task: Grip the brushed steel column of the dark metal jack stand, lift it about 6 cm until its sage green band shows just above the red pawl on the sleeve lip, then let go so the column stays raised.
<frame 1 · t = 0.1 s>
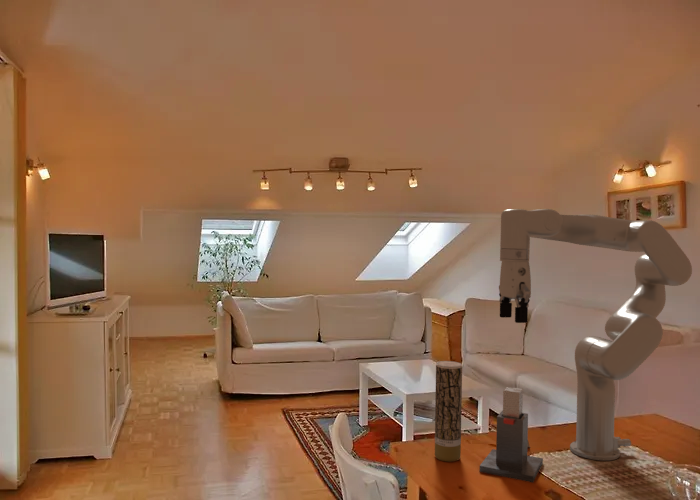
hand: (513, 319, 155), 37 cm above the table, tool pointing down, fingers open, 9 cm apart
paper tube: (447, 458, 154), on the table
column: (512, 424, 148), point 11 cm above the table, slide at 0.0 cm
stand: (511, 467, 148), on the table
decorative ornament: (518, 444, 166), on the table
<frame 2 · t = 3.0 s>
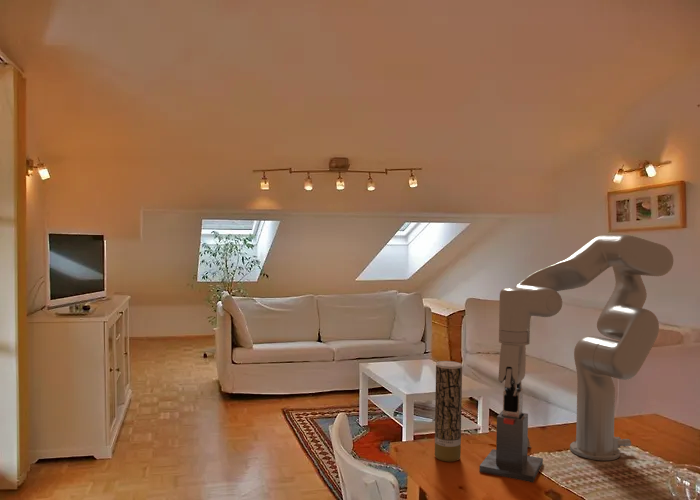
hand: (512, 408, 148), 15 cm above the table, tool pointing down, fingers closed on column, 4 cm apart
column: (512, 424, 148), point 11 cm above the table, slide at 0.0 cm, touching gripper
everything else where it was.
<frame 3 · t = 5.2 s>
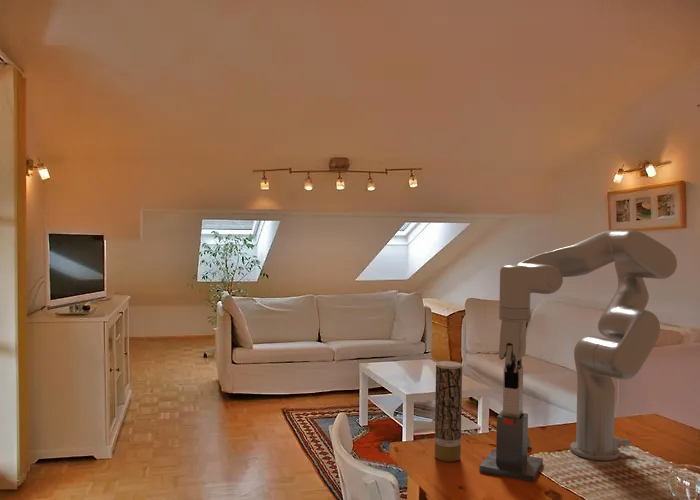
hand: (513, 385, 148), 21 cm above the table, tool pointing down, fingers closed on column, 4 cm apart
column: (512, 402, 148), point 17 cm above the table, slide at 5.8 cm, touching gripper
everything else where it was.
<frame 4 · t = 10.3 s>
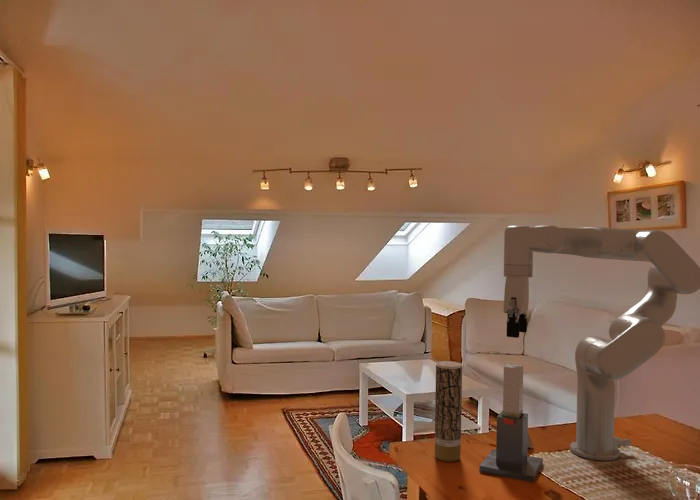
hand: (516, 334, 158), 32 cm above the table, tool pointing down, fingers open, 9 cm apart
column: (512, 401, 148), point 17 cm above the table, slide at 6.0 cm
at the end: column slide at 6.0 cm; the gripper is holding nothing; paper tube moved 0.2 cm from its start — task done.
